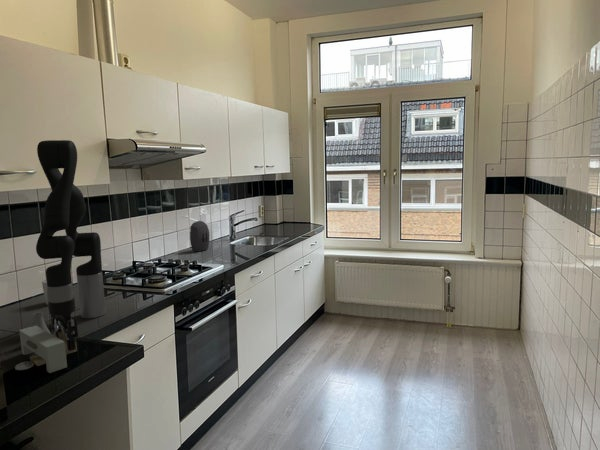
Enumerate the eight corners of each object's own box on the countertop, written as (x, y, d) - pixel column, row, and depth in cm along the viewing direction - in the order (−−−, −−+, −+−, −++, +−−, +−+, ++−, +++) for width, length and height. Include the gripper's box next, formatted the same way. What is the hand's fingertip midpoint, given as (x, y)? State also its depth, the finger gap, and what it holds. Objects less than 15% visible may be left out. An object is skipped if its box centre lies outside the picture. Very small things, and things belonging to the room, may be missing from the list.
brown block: (30, 360, 144) (27, 339, 143) (71, 347, 154) (69, 327, 153) (37, 366, 140) (35, 344, 139) (79, 352, 150) (77, 331, 149)
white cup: (54, 306, 198) (51, 283, 196) (40, 304, 200) (37, 282, 199) (68, 300, 205) (66, 278, 203) (55, 299, 207) (52, 277, 206)
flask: (56, 336, 163) (54, 309, 162) (46, 345, 156) (43, 316, 155) (36, 337, 163) (33, 310, 162) (24, 346, 156) (21, 317, 154)
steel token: (12, 367, 140) (12, 365, 140) (31, 362, 144) (30, 359, 144) (18, 372, 137) (17, 370, 137) (36, 367, 141) (36, 364, 140)
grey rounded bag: (204, 248, 314) (202, 218, 311) (213, 249, 310) (212, 219, 307) (188, 252, 301) (186, 222, 298) (198, 253, 297) (196, 222, 294)
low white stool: (19, 354, 149) (16, 330, 148) (38, 348, 153) (36, 325, 152) (46, 374, 135) (43, 348, 134) (67, 367, 139) (64, 341, 138)
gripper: (83, 299, 145) (88, 348, 148) (63, 291, 154) (68, 337, 157) (58, 305, 139) (63, 356, 142) (39, 296, 149) (45, 345, 151)
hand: (66, 346), depth 149 cm, fingers open, 8 cm apart
